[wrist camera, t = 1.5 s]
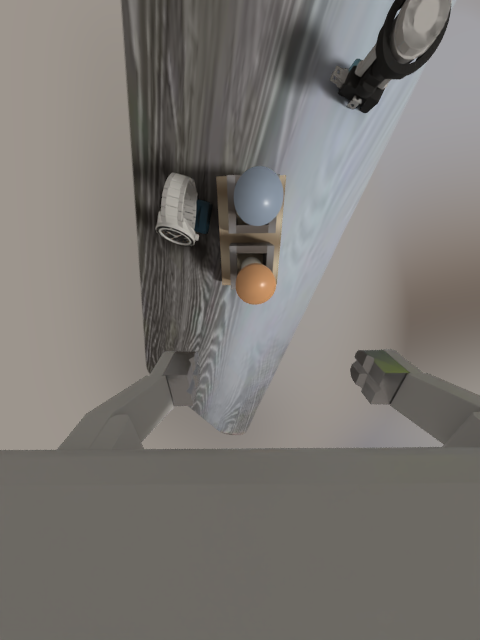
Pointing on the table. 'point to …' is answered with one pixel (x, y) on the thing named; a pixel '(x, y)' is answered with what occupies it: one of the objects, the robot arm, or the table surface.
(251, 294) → the knob
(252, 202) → the knob
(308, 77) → the table surface
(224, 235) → the mount
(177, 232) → the watch
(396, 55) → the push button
